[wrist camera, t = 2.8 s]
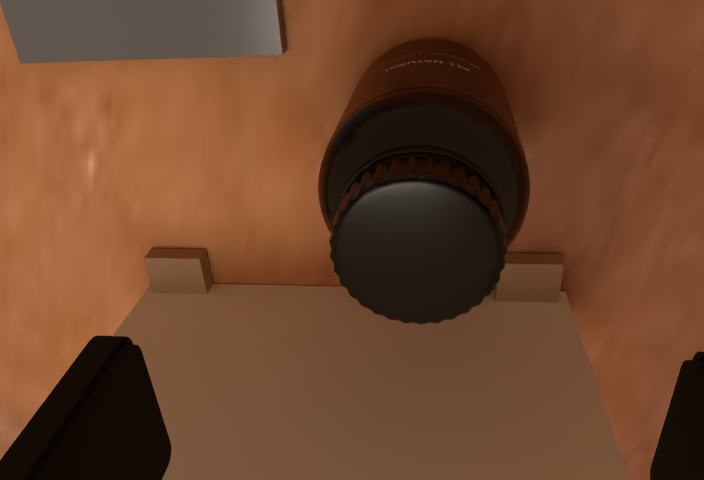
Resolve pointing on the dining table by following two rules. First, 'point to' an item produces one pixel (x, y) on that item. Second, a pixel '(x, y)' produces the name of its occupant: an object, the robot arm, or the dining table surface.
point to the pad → (143, 29)
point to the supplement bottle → (424, 184)
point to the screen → (369, 381)
